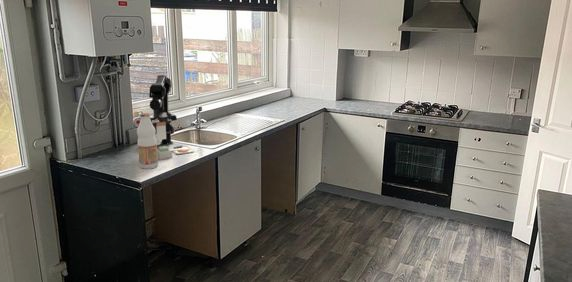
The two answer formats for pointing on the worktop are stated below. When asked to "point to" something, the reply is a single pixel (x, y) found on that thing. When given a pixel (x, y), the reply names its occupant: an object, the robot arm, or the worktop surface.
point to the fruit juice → (147, 143)
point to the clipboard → (181, 150)
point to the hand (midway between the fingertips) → (160, 133)
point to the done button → (163, 148)
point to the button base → (164, 154)
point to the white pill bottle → (160, 130)
